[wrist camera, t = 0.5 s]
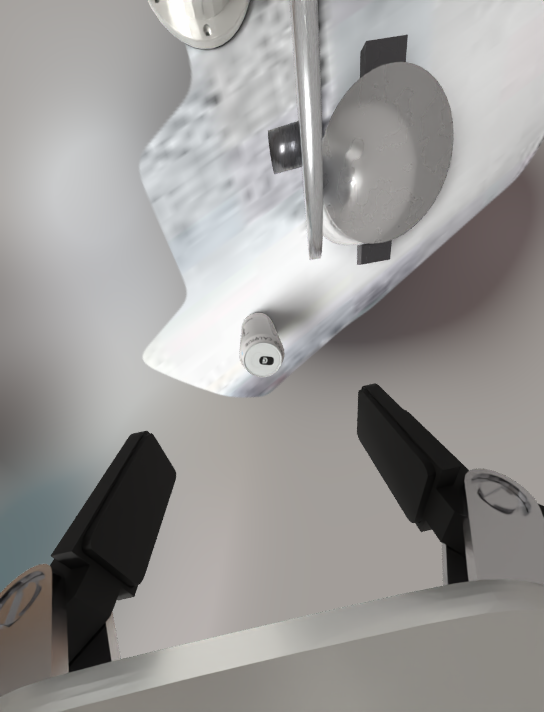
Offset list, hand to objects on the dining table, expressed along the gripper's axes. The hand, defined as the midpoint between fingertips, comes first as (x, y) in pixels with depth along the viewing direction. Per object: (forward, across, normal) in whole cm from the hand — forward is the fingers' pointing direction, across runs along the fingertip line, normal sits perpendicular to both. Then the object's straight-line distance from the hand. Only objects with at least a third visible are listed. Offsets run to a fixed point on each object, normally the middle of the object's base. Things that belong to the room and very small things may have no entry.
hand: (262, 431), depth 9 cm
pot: (+31, -19, -14) cm, 39 cm away
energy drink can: (+31, 0, +5) cm, 31 cm away
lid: (+15, -9, -14) cm, 22 cm away
